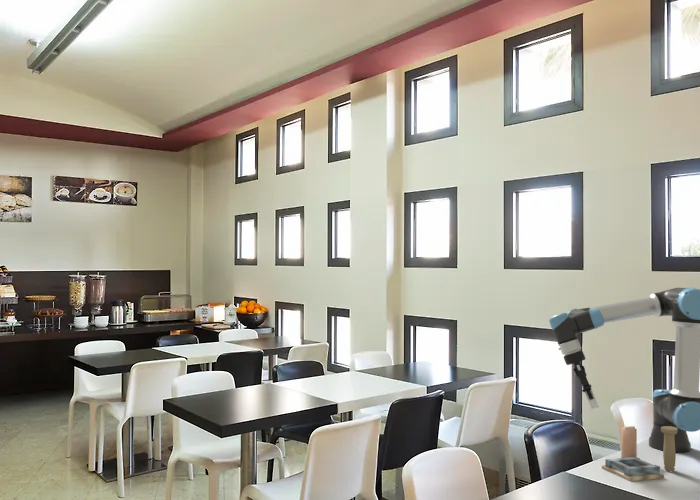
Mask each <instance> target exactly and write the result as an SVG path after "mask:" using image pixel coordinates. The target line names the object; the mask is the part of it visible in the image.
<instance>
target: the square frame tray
mask: <svg viewBox="0 0 700 500" xmlns="http://www.w3.org/2000/svg"><path fill="white" fill-rule="evenodd" d="M604 464H605V465H601V469H603V470H604V471H607V472H610V473H611V474H613V475H616V476H617V477H620V478H622V479H624V480H627V481H629V482H638V481H644V480H645V481H646V480H647V481H648V480H657V479H664V478H665V474H663V473H661V465H660V466H659V465H657V464H652V463H649V462H647V461H645V460H642V459H641V458H639V457H638V456H637V457H629V458H621V457H618V458H616V457H615V458H606V459H605V463H604Z"/></svg>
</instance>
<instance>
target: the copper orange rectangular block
mask: <svg viewBox="0 0 700 500" xmlns="http://www.w3.org/2000/svg"><path fill="white" fill-rule="evenodd" d="M637 430H638V429H637V428H635V426H634V425H625V426H622V427H621V431H620V432H621V434H620V435H621V438H620V439H621V441H620V443H621V444H620V445H621V447H620V448H621V453H620V454H621V457H620V458H629V457H637V458H638V456H637V455H638V451H637V449H638V447H637V446H638V445H637V444H638V443H637V441H638V440H637V437H638V436H637V435H638V431H637Z"/></svg>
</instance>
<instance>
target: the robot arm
mask: <svg viewBox="0 0 700 500" xmlns="http://www.w3.org/2000/svg"><path fill="white" fill-rule="evenodd" d="M649 316H650V317H651V316H655V317H657V318H658V317H663V316H664V317H666V316H667V317H669V316H670V317H672V318H671V323H673V324H674V326H675V346H674V347H675V349H674V368H673V369H674V370H673V388H672V389H655V390H654V391H653V393H652V394H653V395H652V414H653V417H652V418H653V419H652V420H653V421H652V422H653V423H652V424H653V426H652V428H651V433H650V436H649V438H648V446H649V447H651V448H653V449H656V450H660V451H663V448H664V433H662V432H661V427H663V426H672V427H676V428H677V429H678V432H677V434H675V435H674V439H675V453H687V452H690V451H691V450H692V446H691V442H690V440H689V436H688V432H689V433H692V432H697V431H700V289H699V288H695V287H674V288H670V289H666V290H663V291H659V292H654V293H650V295H649V296H646V297H645V296H644V297H639V298H635V299H629V300H624V301H617V302H612V303H611V302H610V303H607V304H600V305H595V306H589V307H584V308H574V309H570V310H568V311H567V312H562V313H559V314H557V315H553V316H551V317H550V318H549V320H548V322H549V324H550V327H551V330H552V333H553V335H554V338H555V339H556V342H557V344H558V346H559V347H558V350H559V351H560V352H561V354H562V355H564V356H563V360H564V362H565V364H566V365H567V366H570V365H573V367H574V368H573V371H574V373H575V375H576V377H577V379H579V381H580V384H581V387H582V388H583V389H581V391H582V393H584V395H585V397H586V399H587V401H588V404H589V406H590V408H591V410H593V409H597V408H599V407H600V406H599V404H598V400H597V399H596V397H595V395H594V391H593V389H592V387H593V386H592V384H590V382H589V380H588V378H587V373H586V369H585V368H586V367H584V365H582V364H581V363H580V362H582V361H584V360H586V357H585V353H584V351H583V350H582V346H581V344H580V341H579V339H578V337H577V336H578V335H580V334H582V333H585V332H588V331H592V330H594V329H595V330H596V329H598V328H601V327H603V326H604V325H605V324H608V323H609V324H610V323H615V322H619V321H620V322H621V321H626V320H633V319H637V318H644V317H649Z"/></svg>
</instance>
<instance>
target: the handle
mask: <svg viewBox="0 0 700 500" xmlns="http://www.w3.org/2000/svg"><path fill="white" fill-rule="evenodd" d="M661 432H662V433H664V448H663V450H662V451H663V452H662V453H663V454H662V455H663V456H662V459H663V467H664V470H665V472H669V473H671V472H673V473H674V472H675V470H676V468H675V467H676V457H677V456H676V453H677V452H675V439H674V435H675V434H677V432H678V429H677V428H676V427H672V426H663V427H661Z"/></svg>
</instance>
